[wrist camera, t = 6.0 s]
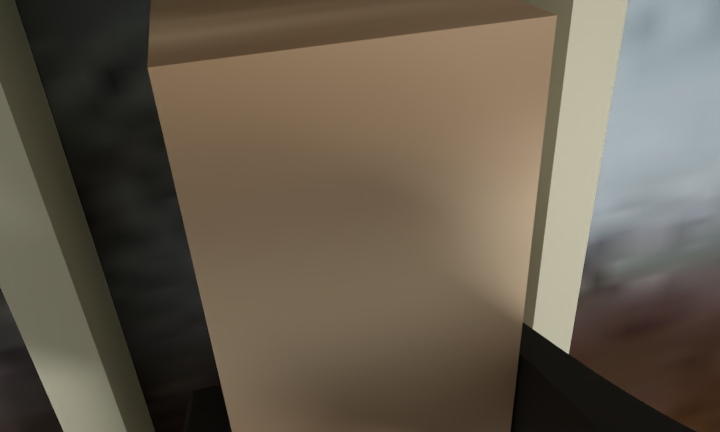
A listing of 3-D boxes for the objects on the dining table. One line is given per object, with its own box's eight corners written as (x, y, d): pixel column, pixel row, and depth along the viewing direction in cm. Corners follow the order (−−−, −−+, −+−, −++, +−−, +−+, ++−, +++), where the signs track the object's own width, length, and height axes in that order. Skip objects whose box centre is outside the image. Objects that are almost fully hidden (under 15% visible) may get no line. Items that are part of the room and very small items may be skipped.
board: (430, 468, 18) (491, 604, 15) (263, 516, 17) (287, 673, 14) (437, -33, 11) (557, 15, 8) (151, -4, 10) (147, 67, 7)
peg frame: (508, 437, 22) (544, 498, 20) (147, 538, 19) (146, 620, 17) (574, -173, 13) (657, -178, 10) (-113, -133, 10) (-183, -130, 8)
